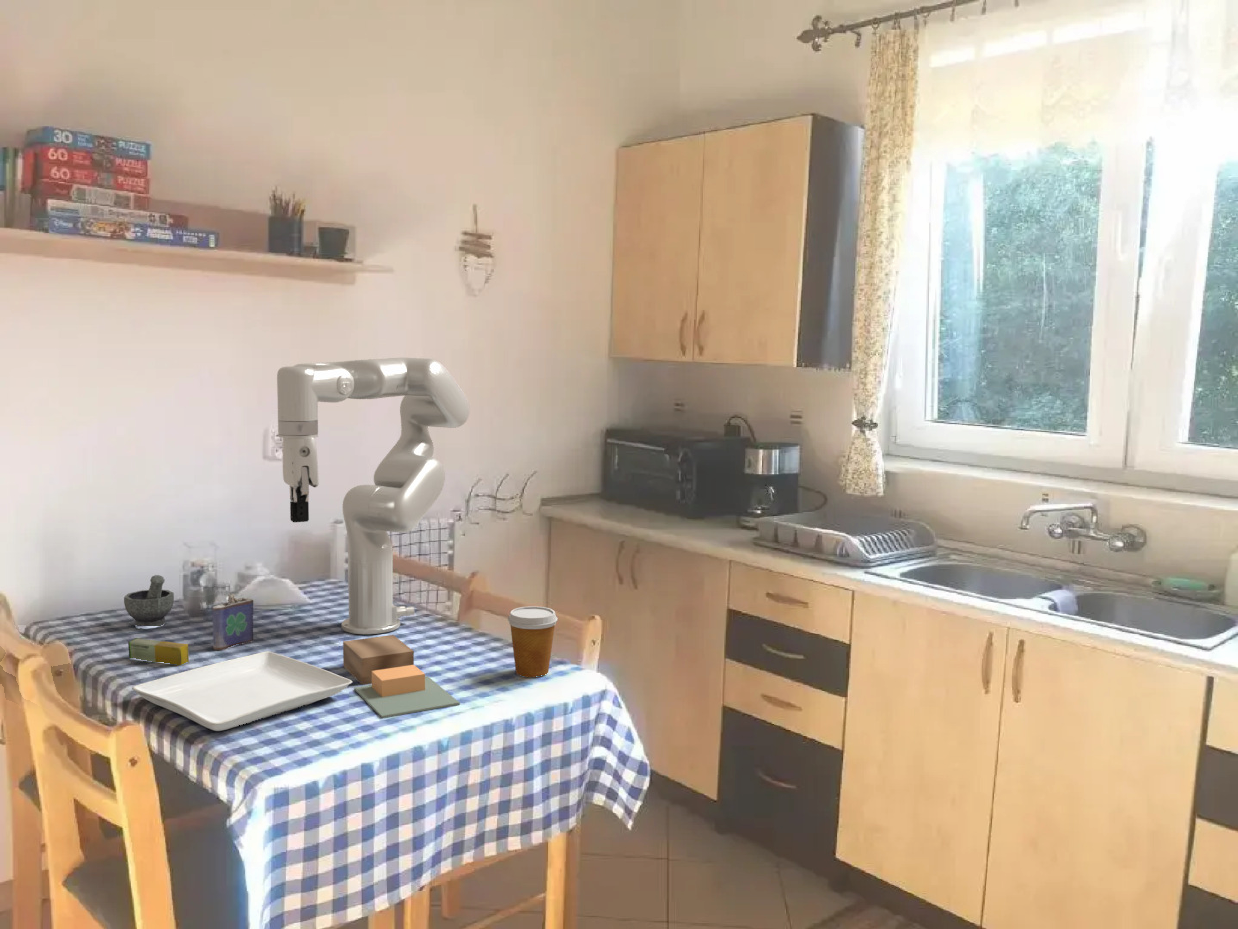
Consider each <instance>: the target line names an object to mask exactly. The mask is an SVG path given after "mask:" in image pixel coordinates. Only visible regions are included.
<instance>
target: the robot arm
mask: <svg viewBox="0 0 1238 929" xmlns="http://www.w3.org/2000/svg"><path fill="white" fill-rule="evenodd" d="M276 382H277V383H276V387H277V389H276V391H277V393H276V394H277V435H278V436H277V437H278V438H282V476H283V477H282V479H283V481H284V483H285V484H287V485H288V486H289V497H290V498H289V499H290V501H289V504H290V505H289V506H290V507H289V509H290V510H289V512H290V514H289V515H290V517H289V518H290V522H292V523H301V522H302V523H305V522H309V520H310V517H309V516H310V515H309V514H310V513H309V512H310V511H309V508H310V507H309V504H310V503H309V496H310V495H309V494H310V488H309V487H310V486H311V487H313V488H318V486H319V485H320V482H319V479H320V478H319V466H318V452H317V442H316V438H318V437H319V415H318V413H319V410H318V407H319V406H318V404H319V403H332V404H333V403H340V402H343V401H345V400H347V399H352V400H377V399H385V398H393V397H401V396H402V397H403V398H402V399H401V402H400V406H399V407H400V408H399V413H400V414H399V415H400V427H401V428H400V429H401V431H400V437H399V438H398V440H397V442H396V443H395V444H394V445H393V447H392V448H391V449H390V450H389V451H388V453H387V454H386V456H385V457H384V458H383V459H382V460H381V461H380V463H378V465H377V468H375V471H374V474H373V483H374V484H361V485H356V486H354V487H352V488H351V489H350V490H349V489H348V491H347V492H346V493H345V496H344V497H343V500H342V515H343V519H344V524H345V525H344V526H345V530H346V538H347V569H348V572H347V574H348V580H347V581H348V585H347V586H348V593H347V594H348V618H346V619H344V620H343V621H341V629H342V630H343V631H344V632H346V633H350V634H356V635H379V634H386V633H389V632H392V631H395V630H398V629H399V628H400V627H401V620H400V619H401V617H405V616H406V617H407V616H408V617H409V616H414V615H415V608H414V606H407V607H406V606H405V605H400V606H396V605H395V604H394V599H393V598H394V591H393V590H394V587H393V586H394V585H393V584H394V582H393V581H394V580H393V574H394V573H393V572H394V571H393V567H394V566H393V562H394V560H393V557H394V552H393V545H392V541H391V537H390V536H389V533H388V532H390V533H392V532H393V533H407V532H408V533H409V532H410V531H412V530H414V529H415V528H416V527H417V526H418V524H420V523H421V521H422V520H423V518H424V517H425V515H426V514H427V513H428V512H429V510H430V508H432V506H433V505H434V503H435V502H436V500H437V499H438V498H439V497H440V494H441V493H442V490H443V488H444V485H445V476H446V473H445V469H444V466H443V465H442V463H441V461H440V460H439V459H436V458H435V457H433V455H434V453H435V452H434V450H435V449H434V442H433V440H432V438H431V435H430V432H429V428H428V427H431V428H432V427H433V428H447V429H454V428H459V427H462V426H463V425H465V423H466V422H467V421H468V419H469V415H470V404H469V403H470V402H469V400H468V398H467V396H466V394H465V392H464V391H463V390H462V388H461V387H460V386H459V384H458V382H457V381H456V380H455V378H454V377H453V375H452V374H451V373H450V372H449V371H448V369H447V368H446V367H445V366H444V365H443V364H442V363H441V362H440V361H437V359H434V358H421V357H420V358H417V357H392V358H391V357H390V358H389V357H388V358H375V359H374V358H373V359H371V358H370V359H357V360H356V359H355V360H346V361H332V362H331V361H329V362H328V361H327V362H309V363H307V362H306V363H298V364H294V365H293V366H282V367H280V368H279V369H278V370H277V374H276Z"/></svg>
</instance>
